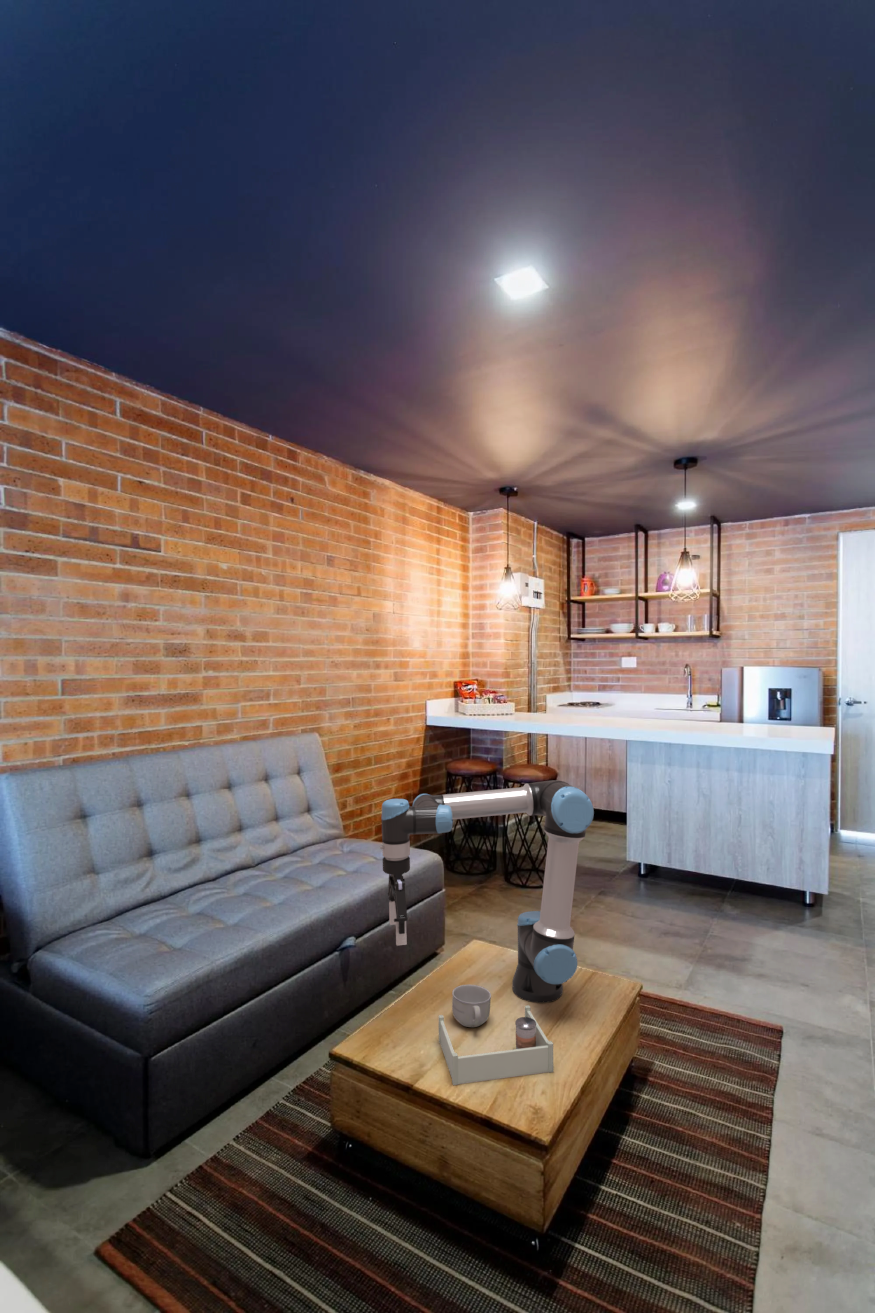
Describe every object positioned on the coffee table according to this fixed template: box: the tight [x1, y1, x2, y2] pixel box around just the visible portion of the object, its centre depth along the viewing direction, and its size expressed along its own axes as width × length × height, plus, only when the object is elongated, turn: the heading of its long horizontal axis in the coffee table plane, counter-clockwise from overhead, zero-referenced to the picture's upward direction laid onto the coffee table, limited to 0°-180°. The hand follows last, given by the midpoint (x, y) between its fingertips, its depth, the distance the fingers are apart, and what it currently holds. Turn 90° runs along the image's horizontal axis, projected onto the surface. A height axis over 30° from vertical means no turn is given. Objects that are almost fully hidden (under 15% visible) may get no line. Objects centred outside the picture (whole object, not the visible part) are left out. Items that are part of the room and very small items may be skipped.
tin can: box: [515, 1016, 536, 1049], centre depth 163 cm, size 5×5×8 cm
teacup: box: [451, 983, 492, 1028], centre depth 177 cm, size 14×11×8 cm
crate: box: [438, 1004, 554, 1086], centre depth 162 cm, size 25×18×7 cm
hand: (397, 934), depth 176 cm, fingers open, 13 cm apart
